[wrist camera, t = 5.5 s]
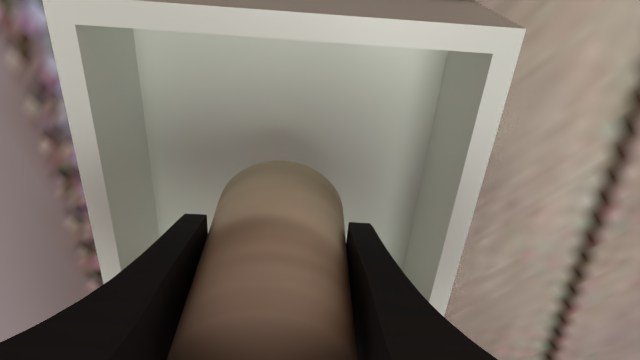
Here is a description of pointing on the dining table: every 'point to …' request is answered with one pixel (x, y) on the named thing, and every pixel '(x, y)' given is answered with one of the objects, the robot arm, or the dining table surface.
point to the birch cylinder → (271, 273)
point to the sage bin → (286, 112)
